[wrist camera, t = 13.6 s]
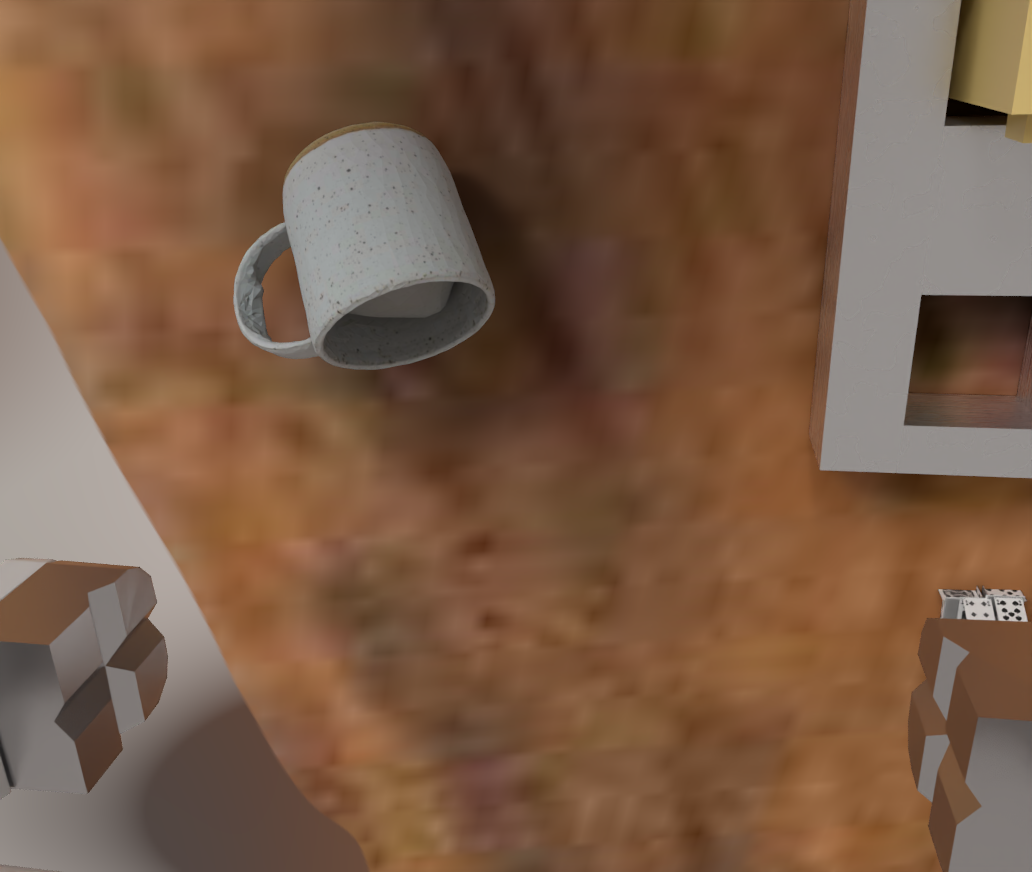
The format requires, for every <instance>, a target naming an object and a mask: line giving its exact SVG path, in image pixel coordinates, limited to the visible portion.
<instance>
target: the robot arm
mask: <svg viewBox="0 0 1032 872" xmlns="http://www.w3.org/2000/svg"><path fill="white" fill-rule="evenodd" d="M156 604H157V599H156V595H155V591H154V587H153V583H152V579H151V576H150V575H149V574H148V573H146V572H145V571H144V570H142V569H141V568H140V567H133V566H120V565H108V564H96V563H84V562H72V561H56V560H53V559H32V558H16V559H7V560H5V561H3V562H2V563H1V564H0V799H2V798H3V797H5V796H7V795H8V794H10V792H11V789H25V790H38V791H51V792H66V793H79V794H88V793H89V792H90V790H91V789H92V788H93V787H94V785H95V784H96V783H97V782H98V780H99V779H100V778H101V777H102V775H103V774H104V773H105V771H106V770H107V769H108V768H109V766H110V765H111V764H112V763H113V761H114V760H115V759H116V758H117V756H118V755H119V754H120V752H121V751H122V750H123V748H122V741H121V735H120V734H122V733H123V732H125V731H127V730H129V729H131V728H133V727H135V726H136V725H139V724H140V723H142V722H144V721H145V720H146V719H147V718H148V716H149V715H150V714H151V712H152V711H153V709H154V708H155V707H156V705H157V704H158V703H159V700H160V697H161V693H162V691H163V688H164V685H165V682H166V679H167V663H168V655H167V649H166V644H165V639H164V636H163V635H162V634H161V633H160V632H159V630H158V629H157V628H156V627H155V626H154V625H153V624H152V623H151V622H150V620H149V619H148V617H149V615H150V614H151V612H152V610H153V609H154V607H155V605H156ZM918 656H919V659H920V662H921V664H922V667H923V670H924V673H925V676H926V680H925V681H924V682H923V683H922V684H921V685H919V686H918V687H917V688H916V689H915V690H914V691H913V692H912V695H911V703H910V711H909V719H908V750H909V756H910V762H911V769H912V773H913V776H914V780H915V783H916V787H917V790H918V791H919V792H920V793H921V794H922V795H924V796H925V797H926V798H927V799H928V800H930V801H931V802H932V807H931V813H930V819H929V825H928V827H929V830H930V833H931V836H932V840H933V843H934V846H935V849H936V852H937V856H938V859H939V862H940V865H941V868H942V871H943V872H1032V622H1023V621H997V620H972V619H946V618H927V619H926V622H925V625H924V627H923V630H922V633H921V639H920V645H919V651H918ZM0 872H59V871H50V870H42V869H33V868H25V867H17V866H9V865H0Z"/></svg>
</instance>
